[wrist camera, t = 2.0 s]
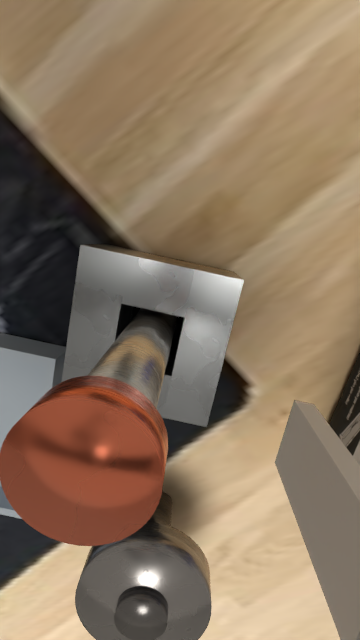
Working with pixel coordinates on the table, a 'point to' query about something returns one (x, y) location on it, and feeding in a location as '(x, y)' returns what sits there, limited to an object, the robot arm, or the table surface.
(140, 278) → the block
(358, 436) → the ink box
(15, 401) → the tray
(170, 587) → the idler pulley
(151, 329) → the pin
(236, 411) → the table surface
